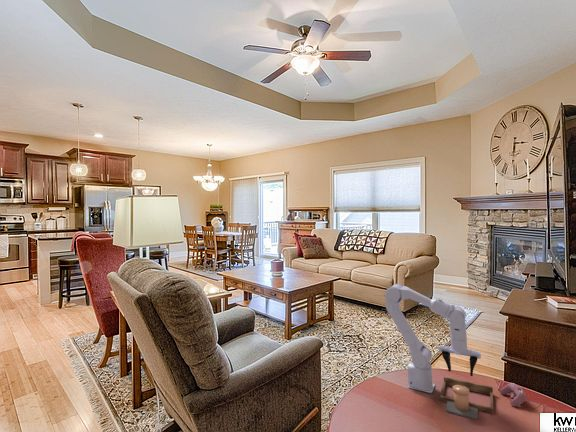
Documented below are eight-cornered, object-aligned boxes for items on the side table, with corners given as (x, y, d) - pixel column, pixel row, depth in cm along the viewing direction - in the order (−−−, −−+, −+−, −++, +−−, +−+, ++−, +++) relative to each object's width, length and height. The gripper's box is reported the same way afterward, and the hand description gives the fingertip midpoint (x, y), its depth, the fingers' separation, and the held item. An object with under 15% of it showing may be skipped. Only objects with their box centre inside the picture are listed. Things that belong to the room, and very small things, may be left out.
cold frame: (439, 400, 121) (439, 392, 121) (444, 383, 133) (443, 376, 133) (493, 413, 111) (492, 404, 111) (493, 394, 124) (492, 386, 124)
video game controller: (523, 412, 114) (531, 395, 114) (510, 405, 115) (518, 389, 114) (509, 397, 124) (517, 382, 123) (498, 391, 124) (505, 376, 124)
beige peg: (452, 409, 114) (451, 389, 114) (454, 402, 118) (453, 383, 119) (469, 413, 111) (468, 393, 111) (471, 406, 115) (469, 387, 115)
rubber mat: (445, 411, 113) (445, 409, 113) (447, 402, 119) (447, 400, 119) (477, 420, 108) (477, 418, 108) (477, 409, 114) (477, 408, 114)
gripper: (437, 338, 125) (438, 372, 124) (479, 345, 116) (481, 381, 116) (439, 333, 130) (441, 365, 130) (480, 339, 122) (482, 374, 122)
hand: (460, 372), depth 123 cm, fingers open, 7 cm apart
